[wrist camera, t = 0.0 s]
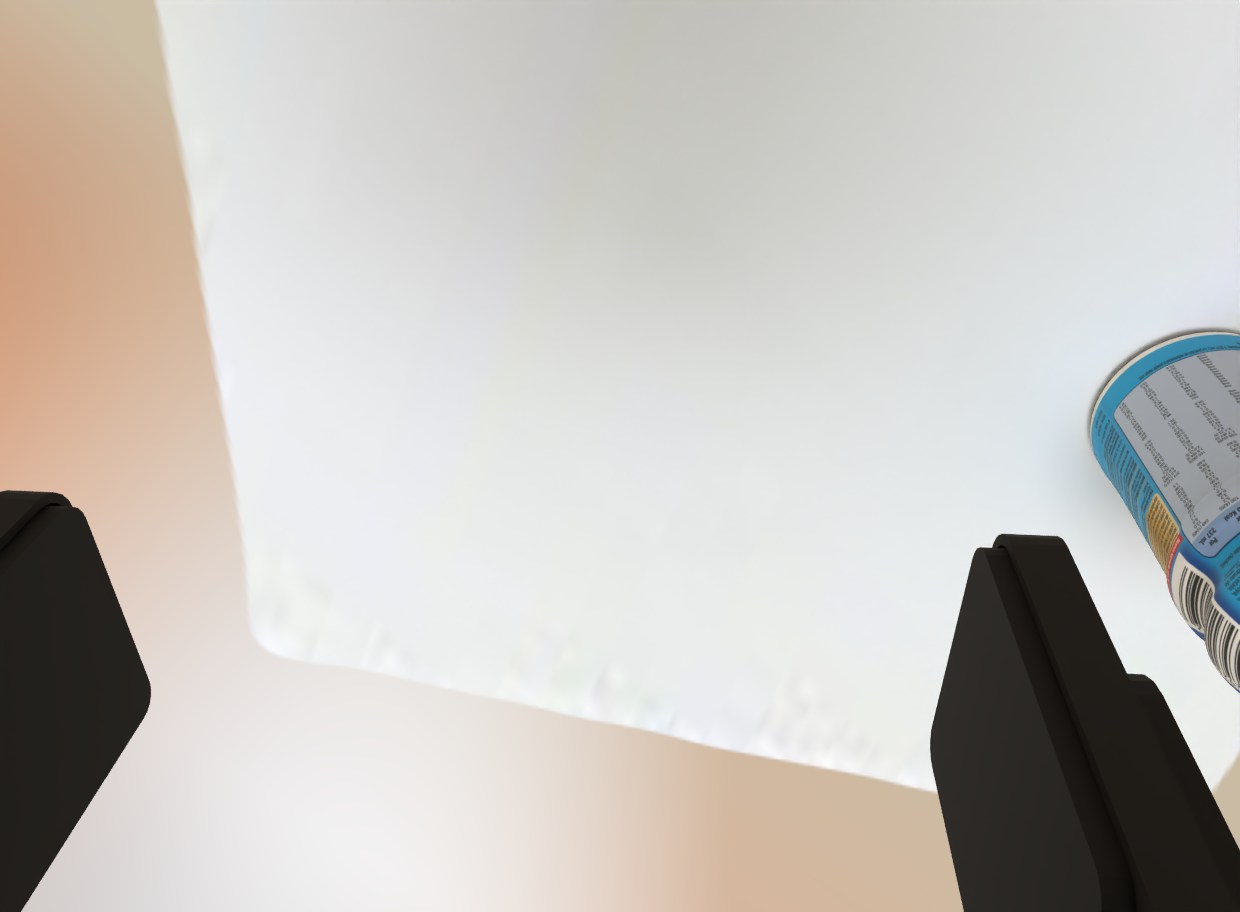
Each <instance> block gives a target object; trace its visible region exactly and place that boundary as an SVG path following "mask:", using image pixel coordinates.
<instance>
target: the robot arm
mask: <svg viewBox="0 0 1240 912" xmlns="http://www.w3.org/2000/svg"><path fill="white" fill-rule="evenodd" d="M150 698H151V686H150V682H149V679H148V676H147V674H146V671H145V669H144V666H143V663H142V661H141V659H140V656H139V653H138V651H137V648H136V645H135V643H134V640H133V638H132V635H131V633H130V630H129V628H128V625H127V622H126V620H125V617H124V615H123V612H122V609H121V607H120V604H119V602H118V599H117V597H116V594H115V591H114V589H113V586H112V584H111V581H110V579H109V576H108V573H107V571H106V568H105V566H104V563H103V561H102V558H101V555H100V553H99V550H98V548H97V545H96V543H95V540H94V537H93V535H92V532H91V530H90V527H89V525H88V522H87V520H86V517H85V516H84V514H83V512H82V511H81V510H79V509H78V508H75V507H72V505H71V503H70V501H69V500H68V499H67V498H66V497H64V496H63V495H62V494H58V493H53V492H31V491H9V490H7V491H2V492H0V912H21V911H22V909H23V907H24V906H25V904H26V903H27V901H28V900H29V898H30V897H31V895H32V893H33V892H34V890H35V889H36V887H37V886H38V884H39V882H40V881H41V879H42V878H43V876H44V875H45V873H46V871H47V870H48V868H49V867H50V865H51V863H52V862H53V860H54V859H55V857H56V856H57V854H58V852H59V851H60V849H61V848H62V846H63V845H64V843H65V841H66V840H67V838H68V837H69V835H70V833H71V832H72V830H73V829H74V827H75V826H76V824H77V823H78V821H79V819H80V818H81V816H82V815H83V813H84V812H85V810H86V808H87V807H88V805H89V804H90V802H91V801H92V799H93V797H94V796H95V794H96V792H97V791H98V789H99V788H100V786H101V785H102V783H103V782H104V780H105V778H106V777H107V775H108V774H109V772H110V771H111V769H112V767H113V766H114V764H115V763H116V761H117V760H118V758H119V756H120V755H121V753H122V752H123V750H124V749H125V747H126V745H127V743H128V742H129V741H130V739H131V738H132V736H133V734H134V733H135V731H136V730H137V728H138V727H139V725H140V723H141V722H142V720H143V719H144V716H145V715H146V713H147V711H148V707H149V704H150ZM930 752H931V762H932V768H933V772H934V777H935V781H936V786H937V791H938V795H939V800H940V804H941V809H942V813H943V818H944V822H945V827H946V832H947V836H948V841H949V845H950V850H951V854H952V859H953V863H954V868H955V873H956V877H957V882H958V886H959V891H960V895H961V900H962V905H963V909H964V912H1240V850H1239V848H1238V846H1237V844H1236V842H1235V840H1234V838H1233V836H1232V834H1231V832H1230V830H1229V828H1228V826H1227V824H1226V822H1225V819H1224V818H1223V816H1222V813H1221V811H1220V809H1219V807H1218V805H1217V804H1216V801H1215V799H1214V797H1213V795H1212V793H1211V791H1210V789H1209V787H1208V785H1207V783H1206V781H1205V779H1204V777H1203V775H1202V773H1201V771H1200V769H1199V767H1198V765H1197V763H1196V761H1195V759H1194V757H1193V755H1192V753H1191V751H1190V749H1189V747H1188V745H1187V743H1186V741H1185V739H1184V737H1183V735H1182V733H1181V731H1180V729H1179V727H1178V725H1177V723H1176V721H1175V719H1174V717H1173V715H1172V713H1171V711H1170V709H1169V707H1168V705H1167V703H1166V701H1165V699H1164V697H1163V695H1162V693H1161V692H1160V690H1159V689H1158V687H1157V686H1156V684H1155V683H1154V681H1152V680H1151V679H1150V678H1148V677H1147V676H1145V675H1142V674H1127V673H1126V671H1125V669H1124V666H1123V664H1122V662H1121V660H1120V658H1119V656H1118V654H1117V651H1116V649H1115V647H1114V645H1113V643H1112V641H1111V639H1110V636H1109V634H1108V632H1107V630H1106V628H1105V626H1104V624H1103V622H1102V619H1101V617H1100V615H1099V613H1098V611H1097V609H1096V607H1095V604H1094V602H1093V600H1092V598H1091V596H1090V594H1089V592H1088V589H1087V587H1086V585H1085V583H1084V581H1083V579H1082V577H1081V574H1080V572H1079V570H1078V568H1077V566H1076V564H1075V562H1074V560H1073V557H1072V555H1071V553H1070V551H1069V549H1068V547H1067V545H1066V543H1065V542H1064V540H1063V539H1062V538H1060V537H1058V536H1040V535H1017V534H1001V535H998V537H997V538H996V540H995V541H994V544H993V547H992V548H982V547H980V548H977V550H976V551H975V553H974V556H973V559H972V563H971V567H970V571H969V576H968V580H967V584H966V588H965V592H964V596H963V600H962V605H961V609H960V613H959V617H958V621H957V625H956V629H955V634H954V638H953V642H952V646H951V650H950V654H949V658H948V663H947V667H946V671H945V675H944V679H943V683H942V687H941V692H940V696H939V700H938V704H937V708H936V712H935V716H934V721H933V725H932V730H931V739H930Z"/></svg>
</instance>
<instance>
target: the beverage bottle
mask: <svg viewBox="0 0 1240 912" xmlns="http://www.w3.org/2000/svg"><path fill="white" fill-rule="evenodd" d="M1090 438H1091V444H1092V448H1093V452H1094V454H1095V457H1096V459H1097V461H1098V463H1099V464H1100V466H1101V468H1102V470H1103V471H1104V473H1105V474H1106V476H1107V477H1108V479H1109V480H1110V481H1111V482H1112V484H1113V485H1114V487H1115V488H1116V490H1117V491H1118V493H1119V494H1120V496H1121V497H1122V499H1123V501H1124V502H1125V504H1126V506H1127V507H1128V509H1129V511H1130V513H1131V514H1132V516H1133V518H1134V519H1135V521H1136V523H1137V525H1138V527H1139V528H1140V530H1141V532H1142V534H1143V535H1144V537H1145V539H1146V541H1147V542H1148V544H1149V546H1150V548H1151V549H1152V551H1153V553H1154V555H1155V557H1156V558H1157V560H1158V562H1159V564H1160V565H1161V567H1162V569H1163V571H1164V573H1165V574H1166V577H1167V584H1168V589H1169V592H1170V595H1171V597H1172V600H1173V602H1174V604H1175V606H1176V607H1177V609H1178V611H1179V612H1180V614H1181V615H1182V617H1183V618H1184V620H1185V621H1186V623H1187V624H1188V625H1189V626H1190V628H1191V629H1192V630H1193V631H1194V632H1195V633H1196V634H1197V635H1198V636H1199V637H1200V638H1201V639H1202V640H1204V641H1205V644H1206V648H1207V651H1208V654H1209V657H1210V659H1211V661H1212V663H1213V664H1214V666H1215V667H1216V669H1217V670H1218V672H1219V673H1220V674H1221V675H1222V677H1223V678H1224V679H1225V680H1226V681H1227V682H1228V683H1229V684H1230V685H1231V686H1232V687H1233V688H1234V689H1236V690H1237V691H1238V692H1239V693H1240V335H1239V334H1234V333H1227V332H1203V333H1195V334H1189V335H1185V336H1181V337H1177V338H1174V339H1171V340H1168V341H1165V342H1163V343H1160V344H1158V345H1156V346H1154V347H1152V348H1150V349H1148V350H1146V351H1145V352H1143V353H1141V354H1140V355H1138V356H1137V357H1135V358H1134V359H1133V360H1131V361H1130V362H1129V363H1127V364H1126V365H1125V366H1124V367H1123V368H1122V369H1121V370H1120V371H1118V373H1117V374H1116V375H1115V376H1114V377H1113V378H1112V379H1111V380H1110V382H1109V383H1108V384H1107V386H1106V387H1105V388H1104V390H1103V392H1102V393H1101V395H1100V397H1099V399H1098V401H1097V403H1096V405H1095V408H1094V411H1093V415H1092V419H1091V426H1090Z"/></svg>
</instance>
